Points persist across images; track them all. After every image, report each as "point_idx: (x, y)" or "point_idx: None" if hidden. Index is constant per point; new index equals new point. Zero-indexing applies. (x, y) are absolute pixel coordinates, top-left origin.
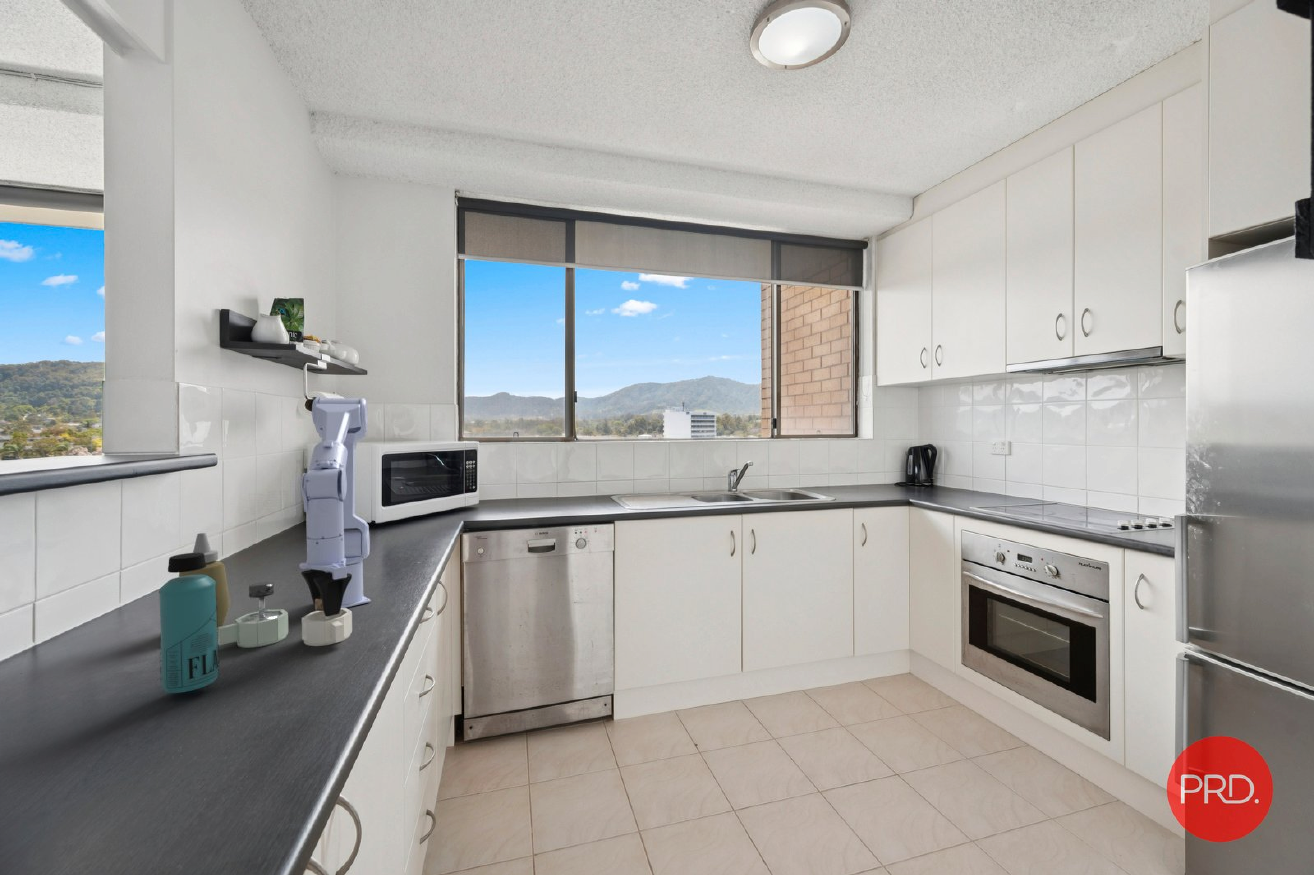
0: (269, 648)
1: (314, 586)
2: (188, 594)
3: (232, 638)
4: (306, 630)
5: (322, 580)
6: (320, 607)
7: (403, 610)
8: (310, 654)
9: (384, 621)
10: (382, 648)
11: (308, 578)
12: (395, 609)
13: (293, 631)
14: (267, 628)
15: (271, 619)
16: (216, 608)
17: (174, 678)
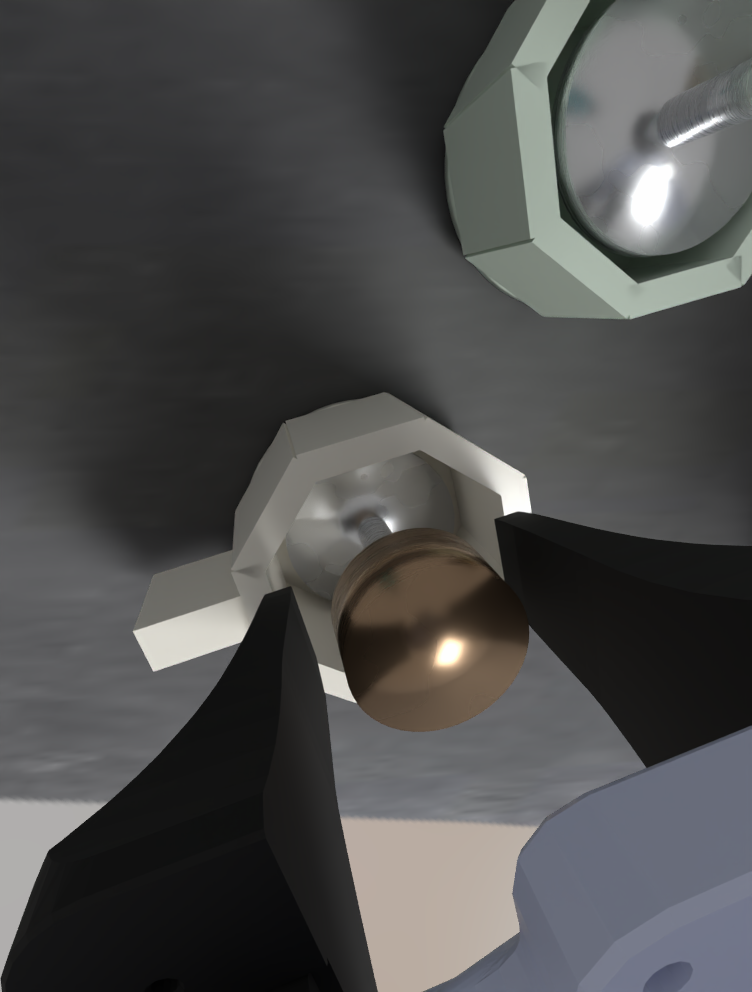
0: (378, 207)
1: (622, 606)
2: None
3: None
4: (305, 434)
5: (13, 982)
6: (351, 582)
7: (554, 794)
8: (127, 435)
9: (455, 737)
10: (40, 757)
11: (710, 614)
12: (592, 765)
13: (598, 342)
14: (492, 172)
15: (541, 192)
16: None
17: None
